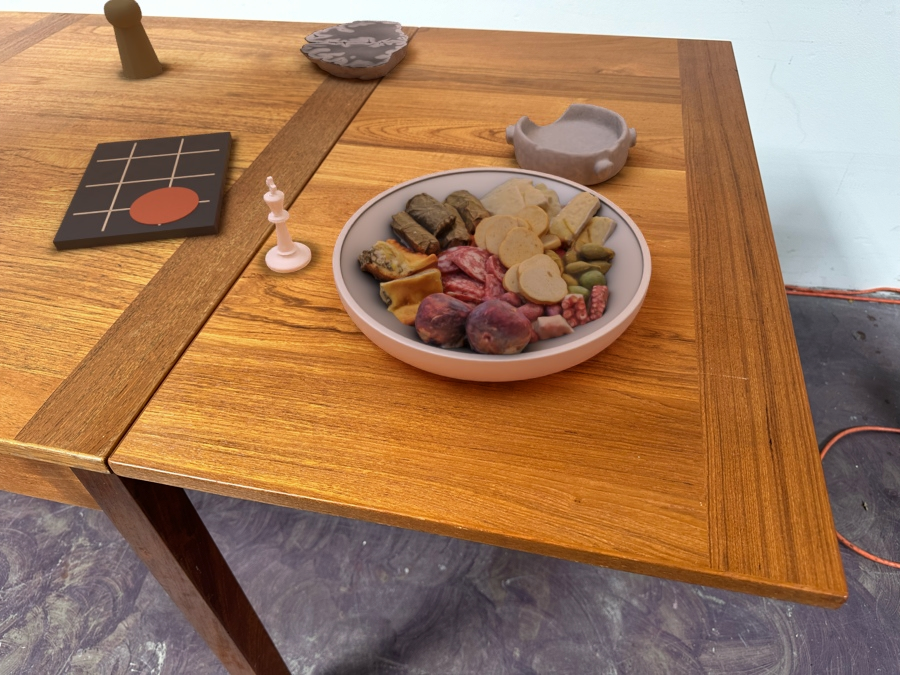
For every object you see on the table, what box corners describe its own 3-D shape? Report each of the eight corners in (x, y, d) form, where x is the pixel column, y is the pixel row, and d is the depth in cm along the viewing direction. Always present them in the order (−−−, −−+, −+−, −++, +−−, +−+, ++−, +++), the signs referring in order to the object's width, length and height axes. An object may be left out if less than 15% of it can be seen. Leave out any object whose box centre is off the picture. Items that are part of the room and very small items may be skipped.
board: (58, 252, 72) (51, 240, 71) (102, 153, 88) (97, 142, 87) (217, 236, 74) (213, 224, 73) (233, 141, 89) (230, 130, 88)
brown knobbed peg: (141, 63, 109) (116, -9, 101) (171, 68, 107) (148, -5, 100) (115, 78, 105) (88, 4, 97) (146, 83, 103) (120, 8, 96)
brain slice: (316, 38, 116) (313, 20, 113) (413, 38, 115) (412, 20, 113) (292, 86, 102) (289, 67, 99) (403, 86, 101) (401, 67, 99)
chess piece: (276, 281, 68) (254, 197, 61) (258, 257, 71) (235, 174, 64) (320, 264, 70) (303, 181, 63) (301, 241, 73) (283, 159, 66)
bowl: (349, 209, 77) (341, 147, 72) (606, 199, 78) (616, 137, 72) (325, 408, 56) (310, 342, 50) (680, 393, 56) (703, 326, 51)
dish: (491, 163, 84) (493, 126, 80) (560, 125, 91) (563, 90, 87) (585, 207, 77) (590, 168, 73) (651, 162, 83) (659, 125, 80)
